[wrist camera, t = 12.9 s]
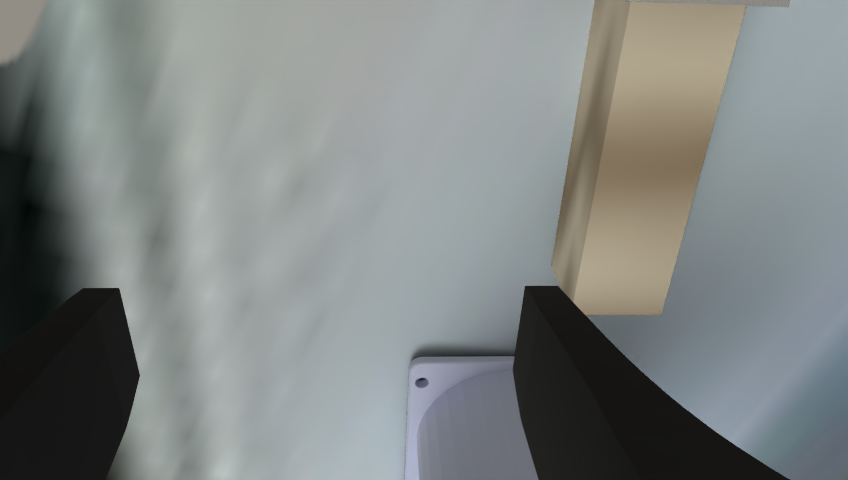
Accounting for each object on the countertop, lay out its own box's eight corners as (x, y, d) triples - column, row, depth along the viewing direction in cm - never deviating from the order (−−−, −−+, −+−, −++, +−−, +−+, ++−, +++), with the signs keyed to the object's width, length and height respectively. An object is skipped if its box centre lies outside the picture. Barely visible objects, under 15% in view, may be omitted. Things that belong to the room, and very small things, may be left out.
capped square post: (645, 264, 25) (687, 334, 22) (537, 263, 25) (562, 334, 21) (725, -56, 20) (799, -29, 16) (586, -61, 19) (631, -35, 16)
